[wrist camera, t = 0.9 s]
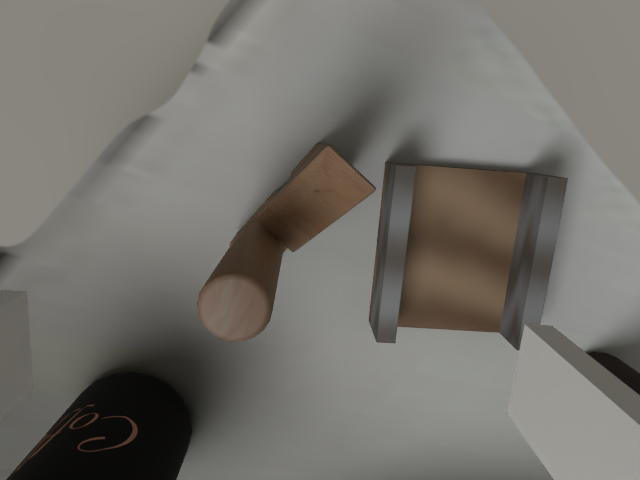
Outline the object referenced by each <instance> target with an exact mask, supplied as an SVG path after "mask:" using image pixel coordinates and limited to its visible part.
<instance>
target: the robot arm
mask: <svg viewBox="0 0 640 480" xmlns="http://www.w3.org/2000/svg"><path fill="white" fill-rule="evenodd" d="M32 389H33V378H32V363H31V347H30V332H29V316H28V301H27V292H26V291H11V290H0V420H1V419H2V418H3V417H4V416H5V415H6V414H7V413H8V412H9V411H10V410H11V409H12V408H13V407H14V406H15V405H16V404H17V403H18V402H19V401H20V400H21V399H22V398H23V397H24V396H25V395H26V394H27V393H28V392H30V391H31V390H32ZM507 415H508V416H509V418H510V419H511V420H512V422H513V423H514V425H515V426H516V427H517V429H518V430H519V432H520V433H521V434H522V436H523V437H524V439H525V440H526V441H527V443H528V444H529V445H530V447H531V448H532V450H533V451H534V452H535V454H536V455H537V457H538V458H539V459H540V461H541V462H542V464H543V465H544V466H545V468H546V469H547V471H548V472H549V473H550V475H551V476H552V478H553V479H554V480H640V395H639V394H637V393H636V392H635V391H634V390H632V389H631V388H630V387H628V386H627V385H626V384H625V383H623V382H622V381H621V380H620V379H618V378H617V377H616V376H615V375H613V374H612V373H611V372H610V371H608V370H607V369H606V368H604V367H603V366H602V365H601V364H599V363H598V362H597V361H596V360H594V359H593V358H592V357H591V356H589V355H588V354H587V353H586V352H584V351H583V350H582V349H580V348H579V347H578V346H577V345H575V344H574V343H573V342H572V341H570V340H569V339H568V338H567V337H565V336H564V335H563V334H562V333H560V332H559V331H558V330H557V329H555V328H554V327H553V326H546V325H531V324H525V325H524V330H523V335H522V340H521V345H520V350H519V355H518V360H517V365H516V370H515V375H514V380H513V385H512V390H511V395H510V399H509V404H508V409H507Z"/></svg>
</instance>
